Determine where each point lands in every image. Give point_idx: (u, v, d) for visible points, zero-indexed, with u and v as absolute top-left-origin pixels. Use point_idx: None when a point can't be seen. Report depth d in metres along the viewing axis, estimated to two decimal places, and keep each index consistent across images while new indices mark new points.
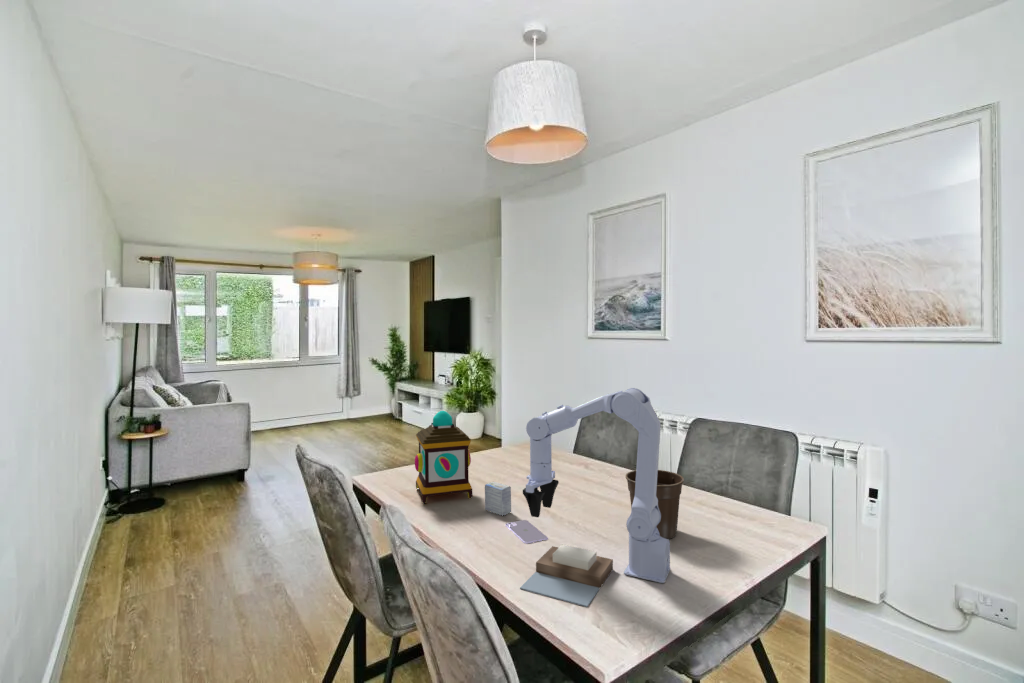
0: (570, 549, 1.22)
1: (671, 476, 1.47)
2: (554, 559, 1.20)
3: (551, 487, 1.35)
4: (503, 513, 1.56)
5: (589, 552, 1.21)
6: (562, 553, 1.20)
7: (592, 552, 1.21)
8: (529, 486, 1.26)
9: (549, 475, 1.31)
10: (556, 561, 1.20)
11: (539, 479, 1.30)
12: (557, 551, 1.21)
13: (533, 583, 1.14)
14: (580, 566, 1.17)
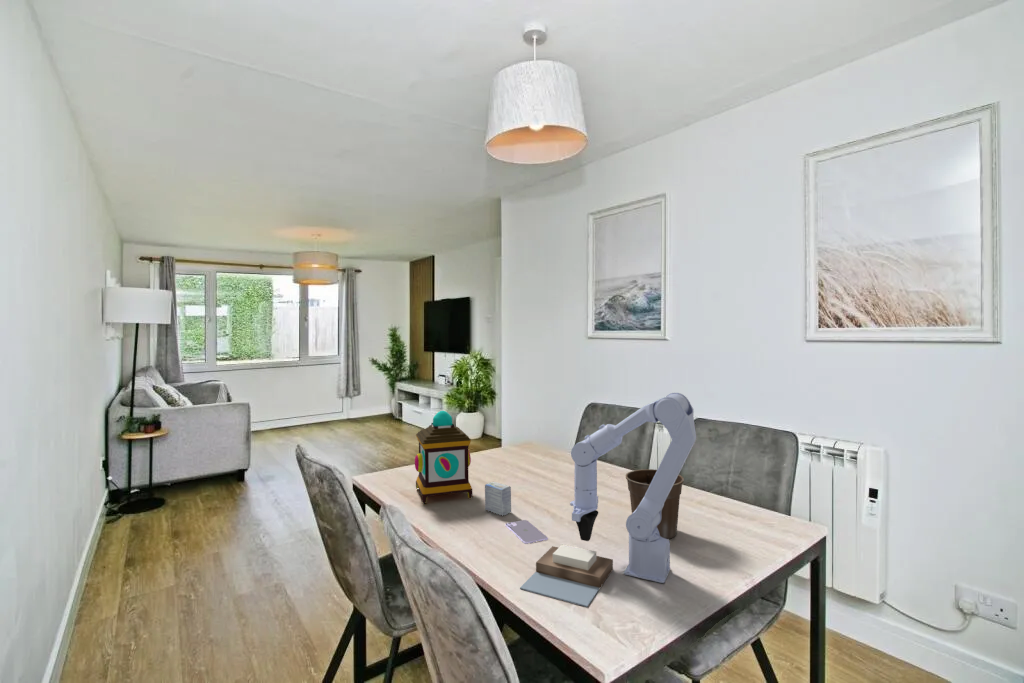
0: (570, 549, 1.22)
1: None
2: (554, 559, 1.20)
3: None
4: (503, 513, 1.56)
5: (589, 552, 1.21)
6: (562, 553, 1.20)
7: (592, 552, 1.21)
8: (575, 515, 1.21)
9: (595, 502, 1.25)
10: (556, 561, 1.20)
11: (585, 506, 1.25)
12: (557, 551, 1.21)
13: (533, 583, 1.14)
14: (580, 566, 1.17)
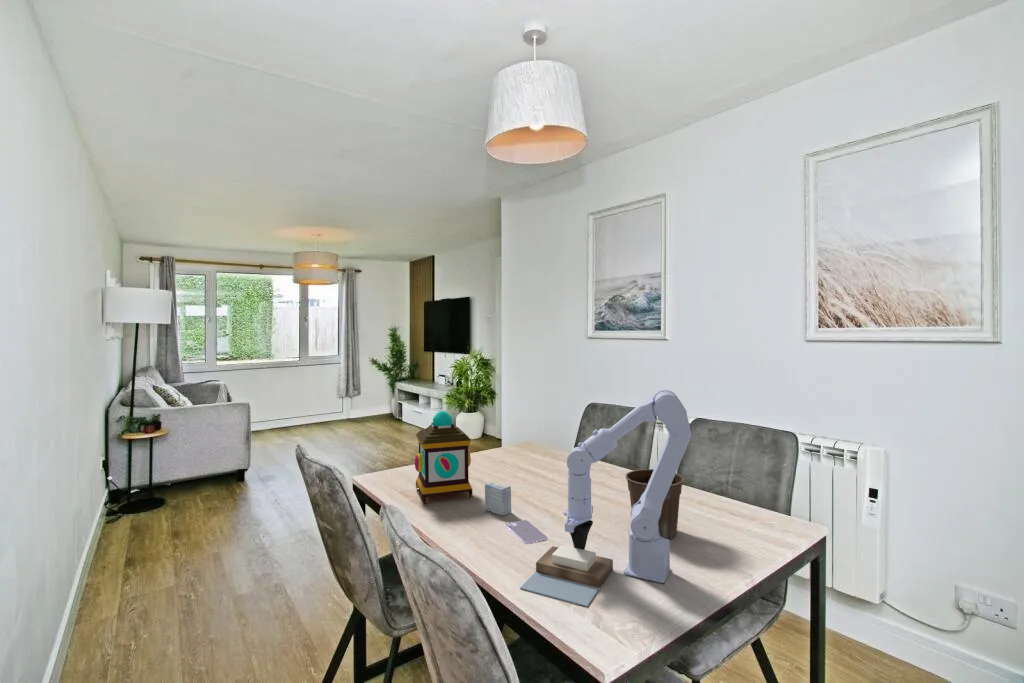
0: (569, 550, 1.22)
1: None
2: (553, 560, 1.20)
3: None
4: (503, 513, 1.56)
5: (589, 552, 1.20)
6: (561, 554, 1.20)
7: (591, 553, 1.20)
8: (569, 525, 1.17)
9: (589, 512, 1.22)
10: (555, 562, 1.19)
11: (578, 516, 1.21)
12: (556, 552, 1.21)
13: (533, 583, 1.14)
14: (579, 566, 1.16)
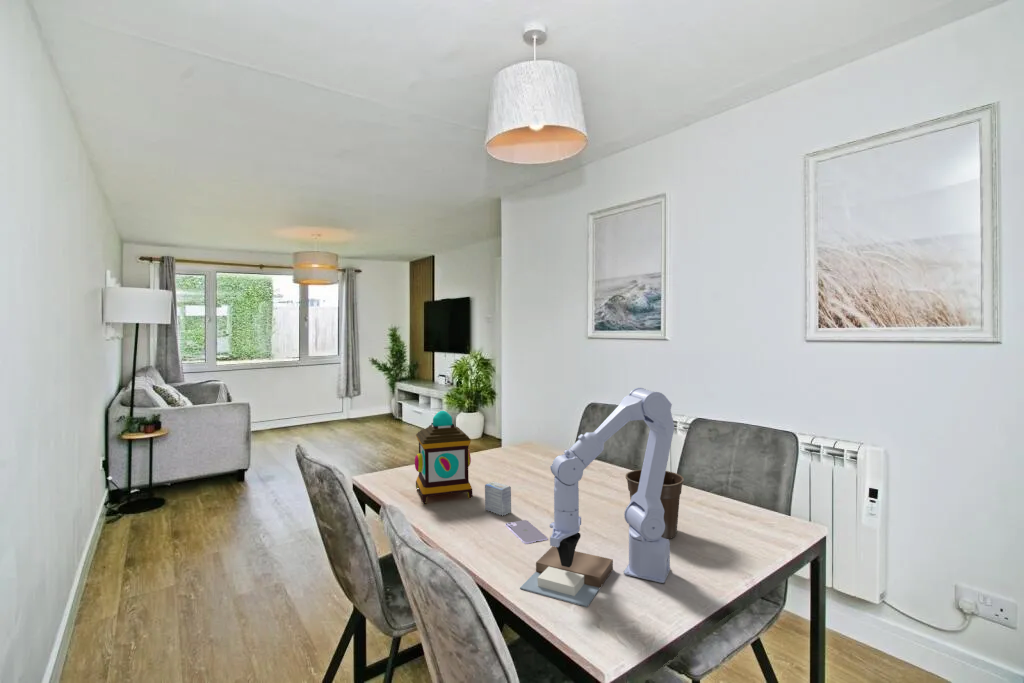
0: (556, 572, 1.15)
1: (671, 476, 1.47)
2: (539, 583, 1.13)
3: None
4: (503, 513, 1.56)
5: (577, 575, 1.14)
6: (547, 577, 1.13)
7: (580, 576, 1.14)
8: (554, 539, 1.09)
9: (576, 524, 1.14)
10: (541, 585, 1.13)
11: (565, 529, 1.13)
12: (542, 574, 1.14)
13: (533, 583, 1.14)
14: (566, 591, 1.10)
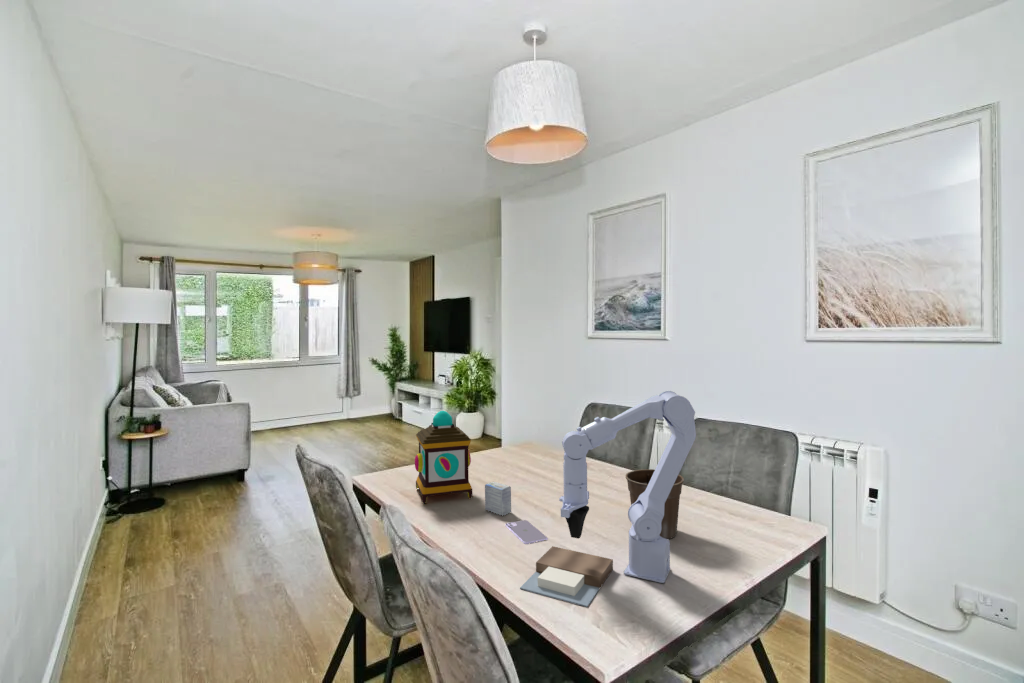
0: (556, 572, 1.15)
1: None
2: (539, 583, 1.13)
3: None
4: (503, 513, 1.56)
5: (577, 575, 1.14)
6: (547, 577, 1.13)
7: (580, 576, 1.14)
8: (565, 510, 1.14)
9: (585, 497, 1.19)
10: (541, 585, 1.13)
11: (574, 502, 1.18)
12: (542, 574, 1.14)
13: (533, 583, 1.14)
14: (566, 591, 1.10)
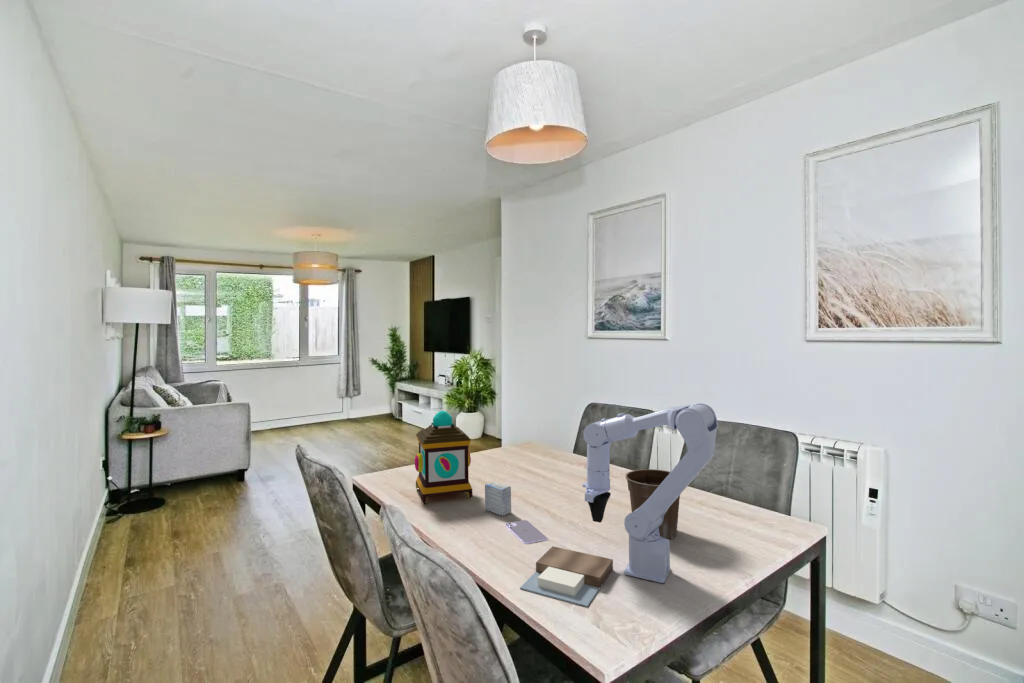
0: (556, 572, 1.15)
1: None
2: (539, 583, 1.13)
3: None
4: (503, 513, 1.56)
5: (577, 575, 1.14)
6: (547, 577, 1.13)
7: (580, 576, 1.14)
8: (588, 495, 1.21)
9: (607, 483, 1.25)
10: (541, 585, 1.13)
11: (597, 488, 1.24)
12: (542, 574, 1.14)
13: (533, 583, 1.14)
14: (566, 591, 1.10)
